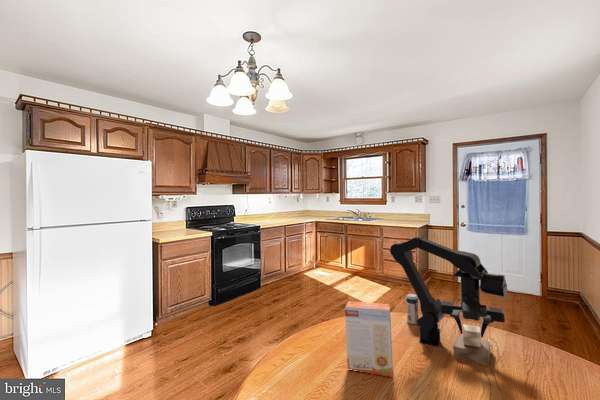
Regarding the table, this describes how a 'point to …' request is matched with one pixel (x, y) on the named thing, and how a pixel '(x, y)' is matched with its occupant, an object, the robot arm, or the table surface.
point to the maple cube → (471, 335)
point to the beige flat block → (472, 351)
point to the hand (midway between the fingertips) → (471, 335)
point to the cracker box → (369, 338)
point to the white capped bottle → (412, 308)
